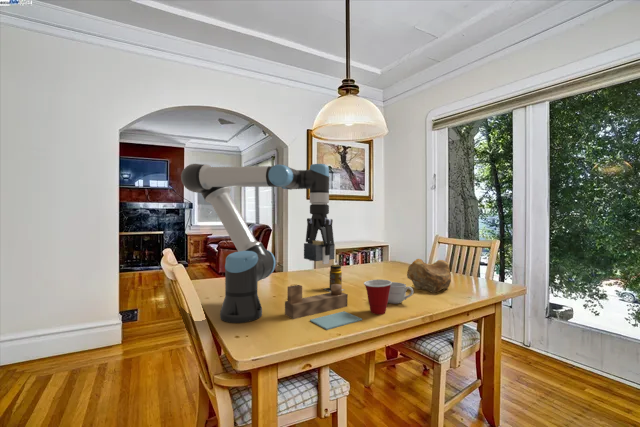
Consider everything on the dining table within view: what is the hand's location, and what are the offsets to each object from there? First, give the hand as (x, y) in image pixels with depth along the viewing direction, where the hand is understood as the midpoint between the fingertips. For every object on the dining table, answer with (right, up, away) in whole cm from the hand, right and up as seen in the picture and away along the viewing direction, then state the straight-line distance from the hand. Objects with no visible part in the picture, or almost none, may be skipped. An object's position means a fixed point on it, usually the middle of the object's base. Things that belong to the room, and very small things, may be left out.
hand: (319, 261), depth 121 cm
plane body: (-1, -19, +1) cm, 19 cm away
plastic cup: (+23, -20, -1) cm, 30 cm away
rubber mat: (+6, -19, -10) cm, 23 cm away
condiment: (+7, -19, +33) cm, 39 cm away
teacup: (+33, -20, +12) cm, 40 cm away
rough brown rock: (+57, -20, +34) cm, 69 cm away
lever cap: (0, +1, 0) cm, 1 cm away
